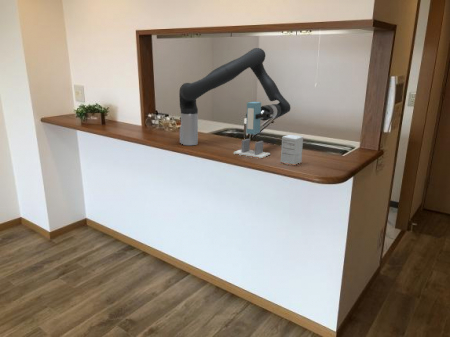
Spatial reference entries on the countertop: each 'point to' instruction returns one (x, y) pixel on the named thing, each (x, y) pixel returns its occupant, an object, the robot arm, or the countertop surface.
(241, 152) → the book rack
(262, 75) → the robot arm
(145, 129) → the countertop surface
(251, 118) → the book
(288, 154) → the supplement box
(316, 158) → the countertop surface
